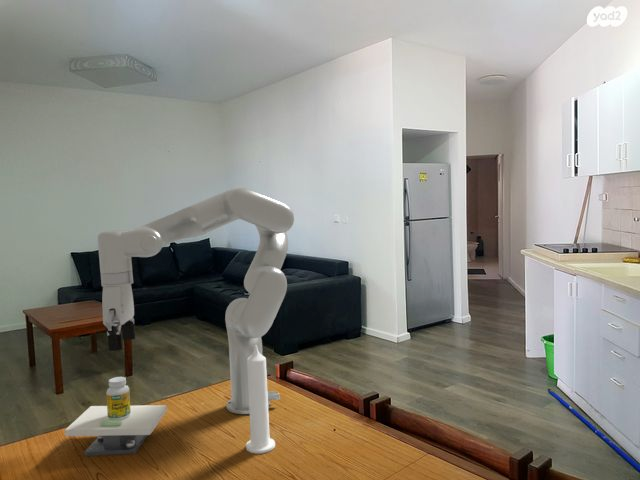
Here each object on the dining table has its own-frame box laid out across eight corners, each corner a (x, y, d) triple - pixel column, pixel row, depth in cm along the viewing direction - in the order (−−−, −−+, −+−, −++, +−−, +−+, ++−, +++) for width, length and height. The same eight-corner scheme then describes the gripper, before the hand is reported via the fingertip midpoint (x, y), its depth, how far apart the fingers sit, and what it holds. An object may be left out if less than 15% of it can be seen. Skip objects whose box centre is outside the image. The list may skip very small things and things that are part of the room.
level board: (166, 410, 131) (166, 400, 131) (149, 434, 117) (149, 423, 117) (91, 411, 131) (90, 401, 131) (65, 436, 117) (64, 425, 117)
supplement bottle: (128, 410, 128) (126, 374, 127) (132, 417, 123) (131, 380, 123) (105, 415, 125) (104, 378, 124) (109, 423, 120) (108, 384, 120)
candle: (279, 441, 121) (275, 341, 119) (267, 455, 115) (262, 350, 113) (254, 438, 124) (249, 340, 122) (240, 451, 117) (235, 348, 115)
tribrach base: (152, 429, 131) (151, 413, 131) (135, 453, 118) (133, 436, 118) (106, 431, 131) (105, 415, 130) (84, 456, 118) (83, 438, 117)
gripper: (114, 274, 134) (119, 336, 136) (88, 285, 117) (94, 355, 118) (142, 273, 135) (147, 334, 136) (120, 283, 117) (126, 353, 119)
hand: (122, 344), depth 127 cm, fingers open, 9 cm apart
